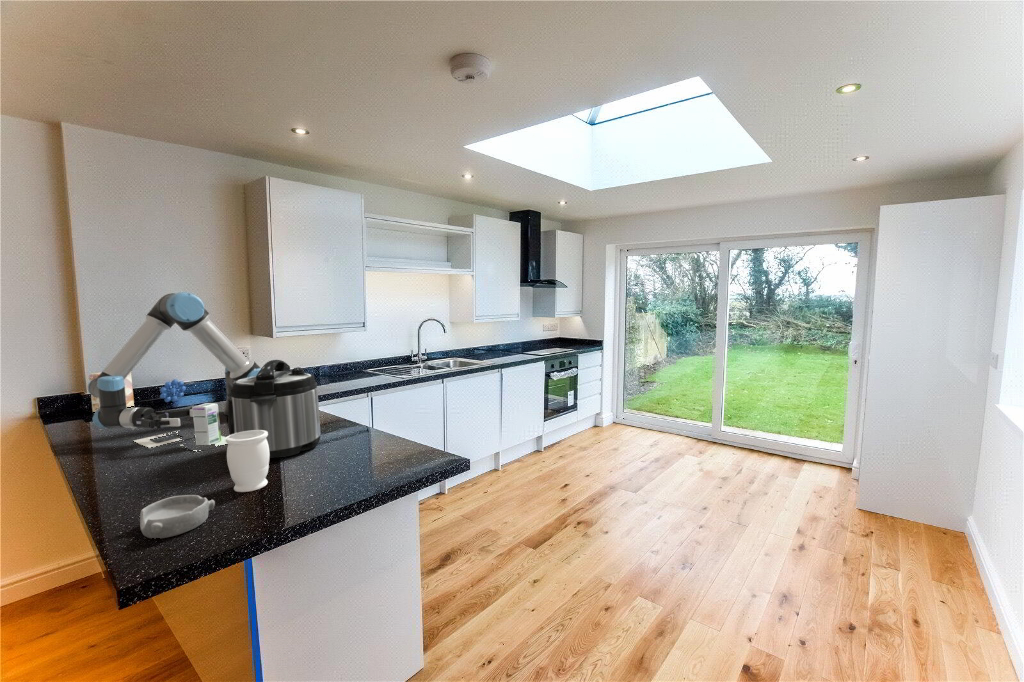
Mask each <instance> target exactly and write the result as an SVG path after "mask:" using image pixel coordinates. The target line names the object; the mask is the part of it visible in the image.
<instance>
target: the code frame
mask: <svg viewBox="0 0 1024 682" xmlns="http://www.w3.org/2000/svg"><path fill="white" fill-rule="evenodd" d="M176 431H177V432H176ZM178 431H179V430H175V431H174V432H176V433H178ZM172 432H173V431H172ZM172 432H171V434H172ZM167 433H168V434H169V435H170V432H167ZM163 434H164V435H163ZM163 434H158V435H152V436H148V437H147V436H146V437H143V438H139V439H138V438H137V439H135V440H132V442H133V441H134V442H133V443H135V442H136V443H135V444H137V443H138V444H137V445H140V446H142V445H143V446H142V447H144V446H145V448H147V447H148V448H147V449H152V448H151V447H153V448H157V447H156V446H158V447H161V446H160V445H162V446H164V445H163V444H166V445H168V444H167V443H171V442H175V441H179V440H182V439H180V438H181V437H178V438H173V439H169V440H163V441H161V442H155V441H153V440H155V439H154V438H157V439H159V438H158V437H162V436H166V433H163ZM177 435H178V434H177ZM177 435H176V436H177ZM166 437H167V436H166ZM162 438H163V437H162ZM150 439H153V440H150ZM179 442H180V441H179ZM175 443H176V442H175ZM171 444H172V443H171Z"/></svg>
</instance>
